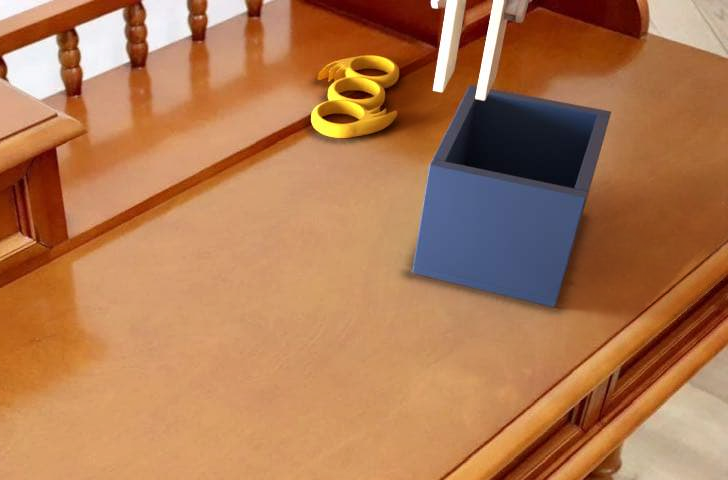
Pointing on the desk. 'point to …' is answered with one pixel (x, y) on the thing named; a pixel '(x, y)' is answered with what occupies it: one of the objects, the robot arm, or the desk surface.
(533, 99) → the bin
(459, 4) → the clip
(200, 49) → the desk surface
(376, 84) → the yellow winged triple ring
